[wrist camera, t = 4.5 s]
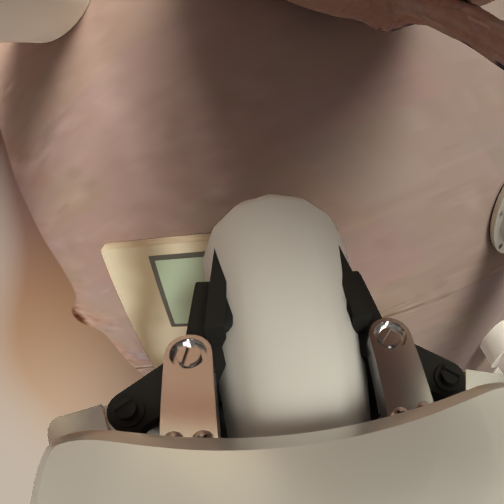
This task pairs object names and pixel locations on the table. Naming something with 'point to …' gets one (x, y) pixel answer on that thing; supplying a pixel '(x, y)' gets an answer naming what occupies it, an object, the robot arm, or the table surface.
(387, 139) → the table surface
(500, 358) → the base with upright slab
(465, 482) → the robot arm
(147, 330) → the picture board
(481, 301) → the table surface
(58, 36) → the cylindrical container
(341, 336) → the salt shaker
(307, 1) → the ceramic pitcher
